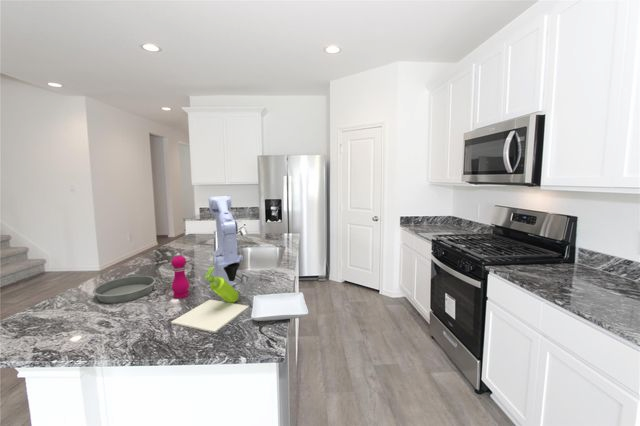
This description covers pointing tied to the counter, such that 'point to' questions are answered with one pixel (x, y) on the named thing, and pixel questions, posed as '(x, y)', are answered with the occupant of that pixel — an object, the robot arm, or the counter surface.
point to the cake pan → (124, 289)
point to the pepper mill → (179, 277)
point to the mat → (210, 315)
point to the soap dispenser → (222, 287)
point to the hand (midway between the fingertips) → (231, 280)
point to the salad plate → (279, 306)
